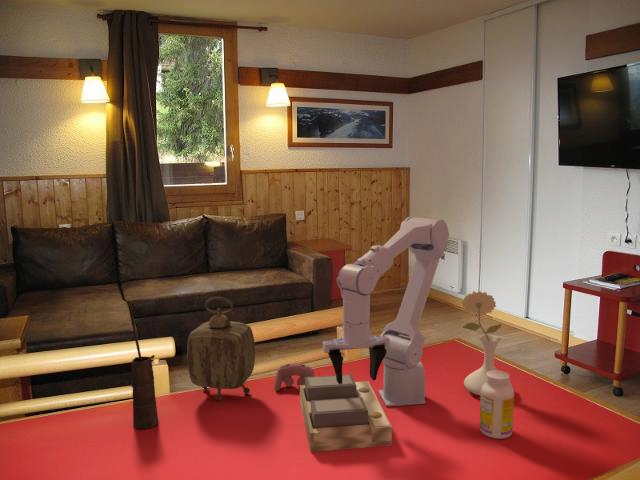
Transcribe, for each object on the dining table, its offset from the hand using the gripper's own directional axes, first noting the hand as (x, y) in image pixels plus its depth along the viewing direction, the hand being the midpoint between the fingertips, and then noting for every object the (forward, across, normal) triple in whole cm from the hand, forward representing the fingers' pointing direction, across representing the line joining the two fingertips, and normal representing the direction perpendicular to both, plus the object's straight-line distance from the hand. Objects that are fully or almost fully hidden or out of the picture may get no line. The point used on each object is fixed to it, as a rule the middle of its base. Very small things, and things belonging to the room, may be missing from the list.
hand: (356, 380), depth 119 cm
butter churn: (+10, +44, -11) cm, 46 cm away
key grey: (+6, +4, -6) cm, 10 cm away
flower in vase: (+10, -35, -6) cm, 37 cm away
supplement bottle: (+10, -27, +12) cm, 31 cm away
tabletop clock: (+10, +28, -19) cm, 35 cm away
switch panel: (+9, +3, 0) cm, 10 cm away
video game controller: (+10, +10, -20) cm, 24 cm away
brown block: (+6, +6, +6) cm, 10 cm away
